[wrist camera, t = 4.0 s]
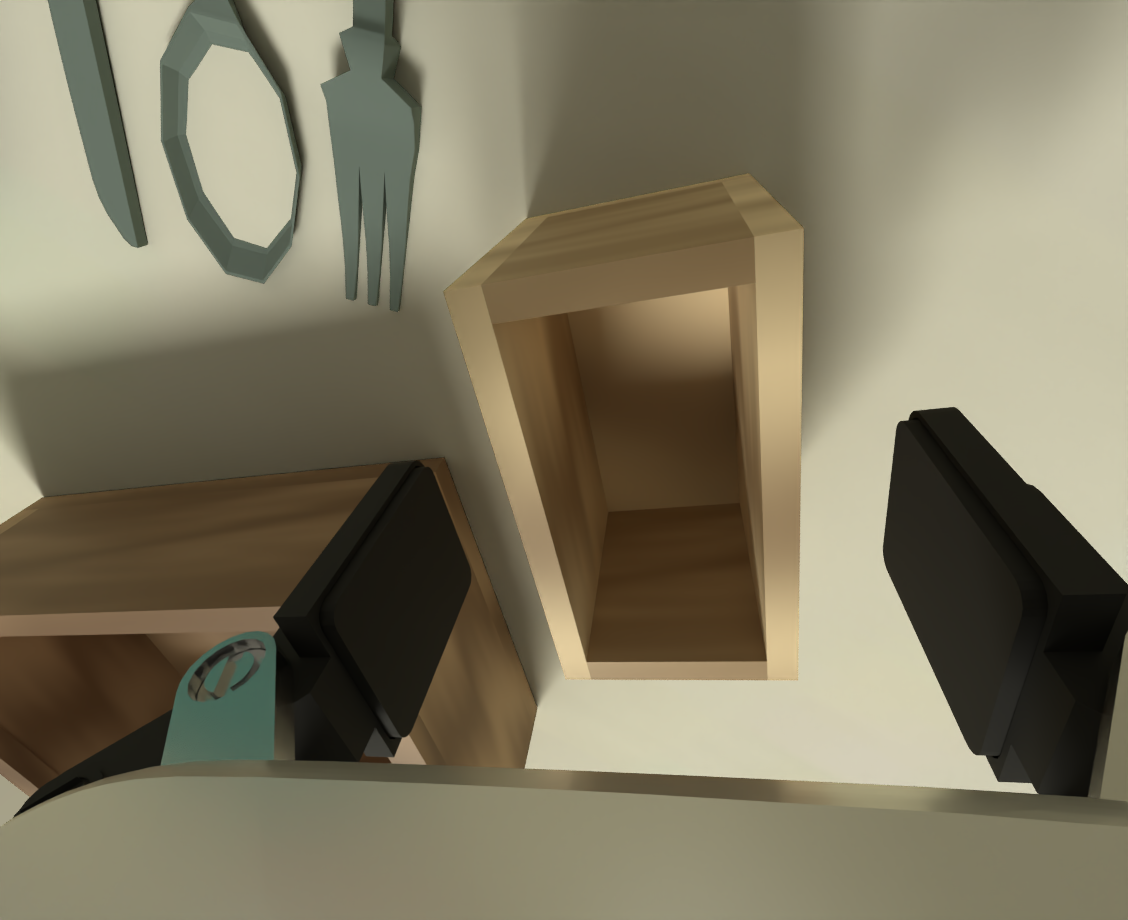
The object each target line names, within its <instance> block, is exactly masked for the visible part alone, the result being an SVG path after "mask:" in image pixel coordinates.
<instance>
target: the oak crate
mask: <svg viewBox="0 0 1128 920" xmlns="http://www.w3.org/2000/svg"><path fill="white" fill-rule="evenodd" d="M803 250H804V228H803V227H802V226H801V225H800V224H799V223H798V222H797V221H796V220H795V219H794V218H793V217H792V216H791V215H790V214H789V213H788V212H787V211H786V210H785V209H784V208H783V207H782V206H781V205H780V204H779V203H778V202H777V201H776V200H775V199H774V198H773V197H772V196H771V195H770V194H769V193H768V192H767V191H766V190H765V189H764V188H763V187H762V186H761V185H760V184H759V183H758V182H757V181H756V180H755V179H754V178H753V177H752V176H751V175H750V174H749V173H748V174H743V175H738V176H733V177H728V178H723V179H718V180H713V181H708V182H703V183H699V184H694V185H689V186H684V187H679V188H674V189H669V190H664V191H659V192H654V193H649V194H644V195H639V196H634V197H629V198H624V199H620V200H615V201H610V202H605V203H600V204H595V205H590V206H585V207H580V208H575V209H570V210H565V211H560V212H555V213H550V214H545V215H541V216H536V217H531V218H526V219H525V220H524V221H523V222H522V223H521V224H519V225H518V226H517V227H516V228H515V229H514V230H513V231H512V232H510V233H509V234H508V235H507V236H506V237H505V238H504V239H502V240H501V241H500V242H499V243H498V244H497V245H496V246H494V247H493V248H492V249H491V250H490V251H489V252H488V253H487V254H485V255H484V256H483V257H482V258H481V259H480V260H479V261H477V262H476V263H475V264H474V265H473V266H472V267H471V268H469V269H468V270H467V271H466V272H465V273H464V274H463V275H461V276H460V277H459V278H458V279H457V280H456V281H455V282H454V283H452V284H451V285H450V286H449V287H448V288H447V289H446V290H444V291H443V293H444V296H445V299H446V302H447V305H448V308H449V312H450V315H451V318H452V321H453V324H454V327H455V331H456V334H457V337H458V340H459V343H460V346H461V350H462V353H463V356H464V359H465V362H466V365H467V369H468V372H469V375H470V378H471V381H472V384H473V388H474V391H475V394H476V397H477V400H478V403H479V407H480V410H481V413H482V416H483V419H484V422H485V426H486V429H487V432H488V435H489V438H490V441H491V445H492V448H493V451H494V454H495V457H496V460H497V464H498V467H499V470H500V473H501V476H502V479H503V482H504V486H505V489H506V492H507V495H508V498H509V501H510V505H511V508H512V511H513V514H514V517H515V520H516V524H517V527H518V530H519V533H520V536H521V539H522V543H523V546H524V549H525V552H526V555H527V558H528V562H529V565H530V568H531V571H532V574H533V577H534V581H535V584H536V587H537V590H538V593H539V596H540V600H541V603H542V606H543V609H544V612H545V615H546V619H547V622H548V625H549V628H550V631H551V634H552V638H553V641H554V644H555V647H556V650H557V653H558V657H559V660H560V663H561V666H562V669H563V672H564V675H565V679H598V680H798V641H799V563H800V485H801V407H802V328H803Z"/></svg>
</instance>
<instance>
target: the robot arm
mask: <svg viewBox="0 0 1128 920" xmlns="http://www.w3.org/2000/svg"><path fill="white" fill-rule="evenodd" d="M883 556H884V562H885V566H886V568H887V571H888V573H889V575H890V577H891V580H892V582H893V584H894V586H895V588H896V591H897V593H898V595H899V597H900V599H901V601H902V604H903V606H904V608H905V610H906V612H907V615H908V617H909V619H910V621H911V623H912V625H913V628H914V630H915V632H916V634H917V636H918V639H919V641H920V643H921V645H922V647H923V649H924V652H925V654H926V656H927V658H928V660H929V663H930V665H931V667H932V669H933V671H934V673H935V676H936V678H937V680H938V682H939V684H940V686H941V689H942V691H943V693H944V695H945V697H946V700H947V702H948V704H949V706H950V708H951V710H952V713H953V715H954V717H955V719H956V721H957V724H958V726H959V728H960V730H961V732H962V734H963V737H964V739H965V741H966V743H967V745H968V747H969V749H970V750H971V751H972V752H973V753H974V754H975V755H986V757H987V759H988V762H989V764H990V766H991V768H992V770H993V772H994V774H995V776H996V778H997V780H998V782H1018V783H1032V784H1033V786H1034V788H1035V790H1036V792H1037V793H1038V794H1027V793H1011V792H996V791H980V790H964V789H948V788H932V787H915V786H895V785H874V784H853V783H832V782H811V781H790V780H770V779H749V778H728V777H707V776H685V775H662V774H639V773H616V772H593V771H570V770H546V769H522V768H498V767H473V766H446V765H419V764H392V763H365V762H359V761H360V759H361V757H362V755H363V752H364V754H365V755H366V756H371V757H395V754H396V752H397V749H398V747H399V744H400V742H401V740H402V738H405V737H407V736H408V735H409V734H410V733H411V731H412V729H413V727H414V724H415V722H416V719H417V717H418V714H419V712H420V709H421V707H422V704H423V702H424V699H425V697H426V694H427V692H428V689H429V687H430V684H431V682H432V679H433V677H434V674H435V672H436V669H437V667H438V665H439V662H440V660H441V657H442V655H443V652H444V650H445V647H446V645H447V642H448V640H449V637H450V635H451V632H452V630H453V627H454V625H455V622H456V620H457V617H458V615H459V612H460V610H461V607H462V605H463V602H464V600H465V597H466V595H467V592H468V590H469V587H470V584H471V575H472V574H471V568H470V565H469V562H468V560H467V557H466V555H465V552H464V550H463V547H462V544H461V542H460V539H459V537H458V534H457V532H456V529H455V526H454V524H453V521H452V519H451V516H450V514H449V511H448V508H447V506H446V503H445V501H444V498H443V496H442V493H441V490H440V488H439V485H438V483H437V480H436V478H435V475H434V473H433V471H432V469H431V468H429V467H425V466H424V465H423V464H422V463H421V462H420V461H418V460H416V461H406V462H396V463H390V464H389V465H388V466H387V467H386V468H385V469H384V471H383V472H382V473H381V475H380V476H379V477H378V478H377V480H376V481H375V482H374V484H373V485H372V486H371V488H370V489H369V490H368V492H367V493H366V494H365V496H364V497H363V498H362V500H361V501H360V502H359V504H358V505H357V506H356V508H355V509H354V510H353V512H352V513H351V514H350V516H349V517H348V518H347V520H346V521H345V522H344V524H343V525H342V526H341V528H340V529H339V530H338V531H337V533H336V534H335V535H334V537H333V538H332V539H331V541H330V542H329V543H328V545H327V546H326V547H325V549H324V550H323V551H322V553H321V554H320V555H319V557H318V558H317V559H316V561H315V562H314V563H313V565H312V566H311V567H310V569H309V570H308V571H307V573H306V574H305V575H304V577H303V578H302V579H301V580H300V582H299V583H298V584H297V586H296V587H295V588H294V590H293V591H292V592H291V594H290V595H289V596H288V598H287V599H286V600H285V602H284V603H283V604H282V606H281V607H280V608H279V610H278V611H277V612H276V614H275V615H274V616H273V618H274V620H275V621H276V623H277V624H278V626H279V629H278V630H277V632H276V633H275V634H274V636H273V637H272V636H271V635H270V634H269V633H266V632H261V631H253V632H245V633H242V634H239V635H236V636H233V637H231V638H229V639H227V640H225V641H223V642H221V643H219V644H217V645H216V646H214V647H213V648H212V649H210V650H209V651H208V652H206V653H205V654H203V655H202V656H201V657H200V658H199V659H198V660H197V661H196V662H195V663H194V664H193V665H192V666H191V667H190V668H189V670H188V671H187V672H186V674H185V675H184V677H183V678H182V679H181V682H180V684H179V687H178V689H177V692H176V696H175V701H174V706H173V709H172V710H170V711H168V712H166V713H165V714H163V715H161V716H160V717H158V718H156V719H154V720H153V721H151V722H149V723H148V724H146V725H144V726H142V727H141V728H139V729H137V730H136V731H134V732H132V733H130V734H129V735H127V736H125V737H123V738H122V739H120V740H118V741H117V742H115V743H113V744H111V745H110V746H108V747H106V748H105V749H103V750H101V751H99V752H98V753H96V754H94V755H93V756H91V757H89V758H87V759H86V760H84V761H82V762H81V763H79V764H77V765H75V766H74V767H72V768H70V769H68V770H67V771H65V772H64V773H62V774H61V775H59V776H58V777H56V778H54V779H53V780H51V781H49V782H48V783H46V784H45V785H43V786H42V787H41V788H39V789H38V790H37V791H36V792H35V793H34V794H33V795H32V796H31V797H30V798H29V799H28V800H27V801H26V802H25V804H24V805H23V806H22V808H21V809H20V810H19V811H18V812H17V813H16V814H15V815H14V817H13V818H12V819H11V820H10V821H8V822H6V823H5V824H4V825H2V826H1V827H0V920H1128V584H1127V583H1126V582H1125V581H1124V580H1123V579H1122V578H1121V577H1120V576H1119V575H1118V574H1117V573H1116V572H1115V570H1114V569H1113V568H1112V567H1111V566H1110V565H1109V564H1108V563H1107V562H1106V561H1105V560H1104V559H1103V558H1102V557H1101V555H1100V554H1099V553H1098V552H1097V551H1096V550H1095V549H1094V548H1093V547H1092V546H1091V545H1090V544H1089V543H1088V542H1087V541H1086V539H1085V538H1084V537H1083V536H1082V535H1081V534H1080V533H1079V532H1078V531H1077V530H1076V529H1075V528H1074V527H1073V526H1072V524H1071V523H1070V522H1069V521H1068V520H1067V519H1066V518H1065V517H1064V516H1063V515H1062V514H1061V513H1060V512H1059V511H1058V509H1057V508H1056V507H1055V506H1054V505H1053V504H1052V503H1051V502H1050V501H1049V500H1048V499H1047V498H1046V497H1045V496H1044V494H1043V493H1042V492H1041V491H1039V490H1038V489H1037V488H1036V487H1034V486H1033V485H1029V484H1026V483H1025V482H1024V481H1023V479H1022V478H1021V477H1020V476H1019V475H1018V474H1017V473H1016V472H1015V471H1014V470H1013V469H1012V467H1011V466H1010V465H1009V464H1008V463H1007V462H1006V461H1005V460H1004V459H1003V458H1002V457H1001V455H1000V454H999V453H998V452H997V451H996V450H995V449H994V448H993V447H992V446H991V445H990V443H989V442H988V441H987V440H986V439H985V438H984V437H983V436H982V435H981V434H980V433H979V431H978V430H977V429H976V428H975V427H974V426H973V425H972V424H971V423H970V422H969V421H968V419H967V418H966V417H965V416H964V415H963V414H962V413H961V412H960V411H959V410H958V409H957V408H955V407H949V408H939V409H929V410H919V411H913V412H912V413H911V415H910V417H909V420H908V421H900V422H899V423H898V425H897V429H896V436H895V445H894V454H893V463H892V472H891V481H890V490H889V499H888V508H887V517H886V525H885V534H884V543H883Z"/></svg>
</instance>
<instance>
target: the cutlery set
mask: <svg viewBox="0 0 1128 920" xmlns="http://www.w3.org/2000/svg"><path fill="white" fill-rule="evenodd" d="M48 3H49V8H50V12H51V17H52V21H53V25H54V29H55V33H56V38H57V42H58V46H59V50H60V54H61V59H62V63H63V67H64V71H65V75H66V79H67V83H68V87H69V91H70V95H71V99H72V103H73V107H74V111H75V115H76V118H77V122H78V126H79V130H80V134H81V137H82V141H83V145H84V149H85V153H86V156H87V160H88V164H89V168H90V172H91V175H92V179H93V182H94V185H95V188H96V190H97V193H98V196H99V198H100V200H101V202H102V204H103V206H104V208H105V210H106V212H107V214H108V216H109V217H110V219H111V220H112V222H113V223H114V224H115V226H116V227H117V229H118V231H119V232H120V234H121V235H122V237H123V238H124V239H125V240H126V241H127V242H128V243H129V244H130V245H131V246H133V247H137V248H139V247H142V246H145V245H148V244H147V239H146V235H145V230H144V225H143V221H142V216H141V211H140V206H139V202H138V197H137V192H136V188H135V183H134V178H133V173H132V169H131V164H130V159H129V155H128V150H127V145H126V140H125V136H124V131H123V126H122V122H121V117H120V112H119V108H118V103H117V98H116V93H115V89H114V84H113V79H112V75H111V70H110V65H109V60H108V56H107V51H106V46H105V42H104V37H103V32H102V27H101V23H100V18H99V13H98V9H97V4H96V0H48ZM393 3H394V0H353V27H351V28H349V29H347V30H345V31H343V32H340V33H339V34H340V38H341V41H342V44H343V48H344V51H345V54H346V57H347V61H348V64H349V67H350V71H348V72H346V73H344V74H341V75H339V76H337V77H335V78H333V79H331V80H329V81H326V82H324V83H322V84H320V85H321V88H322V90H323V93H324V96H325V99H326V102H327V110H328V119H329V127H330V135H331V142H332V150H333V157H334V166H335V175H336V184H337V193H338V201H339V209H340V217H341V225H342V234H343V246H344V259H345V282H346V299H350V300H355V299H356V296H357V279H358V263H359V247H360V231H361V215H362V205H363V215H364V225H365V236H366V251H367V268H368V304H369V305H373V306H377V305H378V298H379V286H380V275H381V263H382V251H383V240H384V228H385V216H386V206H387V221H388V235H389V253H390V310H392V311H396V312H398V311H399V310H400V302H401V293H402V284H403V275H404V265H405V256H406V247H407V238H408V229H409V220H410V211H411V201H412V192H413V183H414V175H415V169H416V164H417V158H418V152H419V142H420V125H421V108H422V107H421V106H420V105H419V104H418V103H417V102H416V101H415V100H414V99H413V98H412V97H411V96H410V95H409V94H408V93H407V92H406V90H405V89H404V88H403V87H402V86H401V85H400V84H399V83H398V82H397V81H396V80H395V79H394V75H395V70H396V66H397V62H398V57H399V53H400V49H401V46H400V45H399V43H398V41H397V40H396V39H394V38H393V37H392V24H393ZM212 44H213V45H218V46H222V47H227V48H231V49H236V50H241V51H245V52H249V54H250V55H251V56H252V58H253V59H254V61H255V62H256V63H257V65H258V66H259V68H260V69H261V71H262V72H263V74H264V75H265V77H266V78H267V80H268V81H269V83H270V84H271V86H272V87H273V89H274V90H275V92H276V93H277V95H278V96H279V98H280V102H281V106H282V110H283V115H284V119H285V124H286V128H287V133H288V137H289V141H290V146H291V150H292V155H293V159H294V164H295V168H296V172H297V174H296V182H295V190H294V198H293V207H292V215H291V219H290V220H289V221H288V223H287V224H286V225H285V226H284V228H283V229H282V230H281V231H280V233H279V234H278V235H277V236H276V238H275V239H274V240H273V241H272V243H271V244H270V245H269V246H268V248H264V247H261V246H258V245H255V244H251V243H248V242H245V241H242V240H239V239H236V238H234V237H233V236H232V234H231V233H230V231H229V230H228V228H227V227H226V225H225V224H224V222H223V221H222V219H221V218H220V216H219V215H218V213H217V212H216V210H215V209H214V207H213V206H212V204H211V203H210V201H209V200H208V198H207V197H206V195H205V194H204V192H203V190H202V186H201V183H200V180H199V177H198V174H197V170H196V167H195V163H194V160H193V157H192V153H191V150H190V147H189V143H188V140H187V136H186V124H187V103H188V80H189V78H190V77H191V76H192V74H193V73H194V71H195V70H196V68H197V67H198V65H199V64H200V62H201V61H202V59H203V57H204V56H205V54H206V53H207V51H208V50H209V48H210V46H211V45H212ZM160 87H161V142H162V145H163V148H164V151H165V154H166V157H167V160H168V163H169V166H170V169H171V172H172V175H173V178H174V181H175V184H176V187H177V190H178V193H179V196H180V199H181V202H182V205H183V208H184V211H185V214H186V217H187V220H188V221H189V223H190V224H191V225H192V227H193V228H194V230H195V231H196V232H197V234H198V235H199V237H200V238H201V239H202V241H203V242H204V244H205V245H206V247H207V248H208V249H209V251H210V252H211V254H212V255H213V256H214V258H215V259H216V261H217V262H218V263H219V265H220V266H221V268H222V269H223V270H224V272H225V273H226V274H228V275H232V276H236V277H240V278H244V279H248V280H252V281H255V282H259V283H263V284H264V283H265V282H266V280H267V279H268V278H269V276H270V275H271V274H272V272H273V271H274V269H275V268H276V267H277V265H278V264H279V263H280V261H281V260H282V259H283V257H284V256H285V254H286V253H287V252H288V250H289V249H290V248H291V246H292V238H293V230H294V222H295V215H296V207H297V200H298V192H299V185H300V177H301V170H302V166H301V161H300V157H299V153H298V149H297V144H296V140H295V136H294V132H293V127H292V123H291V119H290V115H289V110H288V106H287V102H286V97H285V95H284V94H283V92H282V91H281V89H280V87H279V86H278V84H277V83H276V81H275V79H274V78H273V76H272V75H271V73H270V71H269V70H268V68H267V67H266V65H265V63H264V62H263V60H262V59H261V57H260V55H259V54H258V52H257V51H256V49H255V47H254V46H253V44H252V43H251V41H250V39H249V38H248V36H247V35H246V33H245V30H244V28H243V25H242V22H241V20H240V17H239V15H238V12H237V9H236V7H235V4H234V1H233V0H195V1H194V2H193V3H192V4H191V5H190V6H189V7H188V9H187V11H186V12H185V14H184V16H183V18H182V20H181V22H180V24H179V26H178V28H177V30H176V32H175V33H174V35H173V37H172V39H171V41H170V43H169V45H168V47H167V49H166V51H165V53H164V54H163V56H162V58H161V60H160Z"/></svg>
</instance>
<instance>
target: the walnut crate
mask: <svg viewBox="0 0 1128 920" xmlns="http://www.w3.org/2000/svg"><path fill="white" fill-rule="evenodd" d="M414 461H416V460H414ZM418 461H420V462H421V463H422V464H423V465H424V466H425V467H429V468H431V469H432V471H433V473H434V475H435V478H436V480H437V483H438V485H439V488H440V490H441V493H442V496H443V498H444V501H445V503H446V506H447V508H448V511H449V514H450V516H451V519H452V521H453V524H454V526H455V529H456V532H457V534H458V537H459V539H460V542H461V544H462V547H463V550H464V552H465V555H466V557H467V560H468V562H469V565H470V568H471V574H472V575H471V584H470V587H469V590H468V592H467V595H466V597H465V600H464V602H463V605H462V607H461V610H460V612H459V615H458V617H457V620H456V622H455V625H454V627H453V630H452V632H451V635H450V637H449V640H448V642H447V645H446V647H445V650H444V652H443V655H442V657H441V660H440V662H439V665H438V667H437V669H436V672H435V674H434V677H433V679H432V682H431V684H430V687H429V689H428V692H427V694H426V697H425V699H424V702H423V704H422V707H421V709H420V712H419V714H418V717H417V719H416V722H415V724H414V727H413V729H412V731H411V733H410V734H409V735H408V736H407V737H405V738H402V740H401V742H400V744H399V747H398V749H397V752H396V754H395V757H371V756H366V755H365V754H364V752H363V755H362V757H361V759H360V761H359V762H365V763H392V764H419V765H446V766H473V767H498V768H522V769H524V768H525V764H526V759H527V754H528V750H529V745H530V740H531V735H532V731H533V726H534V721H535V717H536V712H537V706H536V703H535V700H534V698H533V695H532V692H531V690H530V687H529V684H528V682H527V679H526V676H525V674H524V671H523V668H522V665H521V663H520V660H519V657H518V655H517V652H516V649H515V647H514V644H513V641H512V639H511V636H510V633H509V630H508V628H507V625H506V622H505V620H504V617H503V614H502V612H501V609H500V606H499V604H498V601H497V598H496V595H495V593H494V590H493V587H492V585H491V582H490V579H489V577H488V574H487V571H486V569H485V566H484V563H483V560H482V558H481V555H480V552H479V550H478V547H477V544H476V542H475V539H474V536H473V534H472V531H471V528H470V525H469V523H468V520H467V517H466V515H465V512H464V509H463V507H462V504H461V501H460V499H459V496H458V493H457V490H456V488H455V485H454V482H453V480H452V477H451V474H450V472H449V469H448V466H447V464H446V461H445V458H435V459H425V460H418ZM404 462H406V461H404ZM394 463H396V462H394ZM389 464H390V463H384V464H374V465H364V466H354V467H344V468H334V469H324V470H314V471H304V472H294V473H284V474H274V475H264V476H254V477H244V478H234V479H224V480H214V481H203V482H193V483H183V484H173V485H163V486H153V487H143V488H133V489H123V490H113V491H103V492H93V493H83V494H73V495H63V496H53V497H43V498H41V499H39V500H38V501H36V502H35V503H33V504H32V505H30V506H28V507H27V508H25V509H24V510H22V511H21V512H19V513H18V514H16V515H15V516H13V517H11V518H10V519H8V520H7V521H5V522H4V523H2V524H1V525H0V774H1V775H2V776H4V777H5V778H6V779H7V780H9V781H10V782H11V783H12V784H14V785H15V786H16V787H18V788H19V789H20V790H22V791H23V792H24V793H25V794H27V795H28V796H29V797H31V796H32V795H33V794H34V793H35V792H36V791H37V790H38V789H39V788H41V787H42V786H43V785H45V784H46V783H48V782H49V781H51V780H53V779H54V778H56V777H58V776H59V775H61V774H62V773H64V772H65V771H67V770H68V769H70V768H72V767H74V766H75V765H77V764H79V763H81V762H82V761H84V760H86V759H87V758H89V757H91V756H93V755H94V754H96V753H98V752H99V751H101V750H103V749H105V748H106V747H108V746H110V745H111V744H113V743H115V742H117V741H118V740H120V739H122V738H123V737H125V736H127V735H129V734H130V733H132V732H134V731H136V730H137V729H139V728H141V727H142V726H144V725H146V724H148V723H149V722H151V721H153V720H154V719H156V718H158V717H160V716H161V715H163V714H165V713H166V712H168V711H170V710H172V709H173V706H174V701H175V696H176V692H177V689H178V687H179V684H180V682H181V679H182V678H183V677H184V675H185V674H186V672H187V671H188V670H189V668H190V667H191V666H192V665H193V664H194V663H195V662H196V661H197V660H198V659H199V658H200V657H201V656H202V655H203V654H205V653H206V652H208V651H209V650H210V649H212V648H213V647H214V646H216V645H217V644H219V643H221V642H223V641H225V640H227V639H229V638H231V637H233V636H236V635H239V634H242V633H245V632H253V631H261V632H266V633H269V634H270V635H271V636H272V637H273V636H274V634H275V633H276V632H277V630H278V629H279V626H278V624H277V623H276V621H275V620H274V618H273V616H274V615H275V614H276V612H277V611H278V610H279V608H280V607H281V606H282V604H283V603H284V602H285V600H286V599H287V598H288V596H289V595H290V594H291V592H292V591H293V590H294V588H295V587H296V586H297V584H298V583H299V582H300V580H301V579H302V578H303V577H304V575H305V574H306V573H307V571H308V570H309V569H310V567H311V566H312V565H313V563H314V562H315V561H316V559H317V558H318V557H319V555H320V554H321V553H322V551H323V550H324V549H325V547H326V546H327V545H328V543H329V542H330V541H331V539H332V538H333V537H334V535H335V534H336V533H337V531H338V530H339V529H340V528H341V526H342V525H343V524H344V522H345V521H346V520H347V518H348V517H349V516H350V514H351V513H352V512H353V510H354V509H355V508H356V506H357V505H358V504H359V502H360V501H361V500H362V498H363V497H364V496H365V494H366V493H367V492H368V490H369V489H370V488H371V486H372V485H373V484H374V482H375V481H376V480H377V478H378V477H379V476H380V475H381V473H382V472H383V471H384V469H385V468H386V467H387V466H388V465H389Z"/></svg>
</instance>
